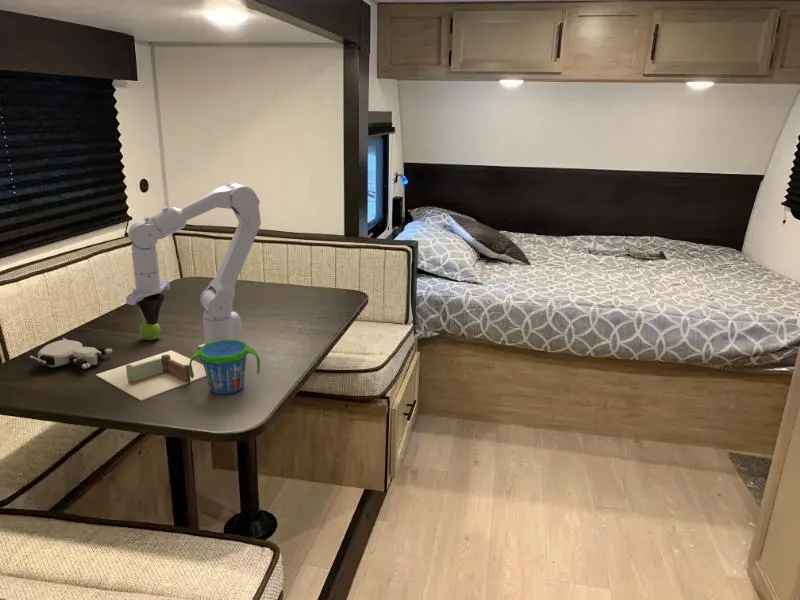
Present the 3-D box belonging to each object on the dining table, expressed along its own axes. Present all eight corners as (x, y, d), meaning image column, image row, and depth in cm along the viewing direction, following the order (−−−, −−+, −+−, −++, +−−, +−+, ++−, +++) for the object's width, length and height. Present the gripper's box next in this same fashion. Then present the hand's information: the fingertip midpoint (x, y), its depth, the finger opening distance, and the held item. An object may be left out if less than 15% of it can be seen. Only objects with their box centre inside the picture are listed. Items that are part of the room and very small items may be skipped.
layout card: (171, 351, 162) (171, 349, 161) (217, 372, 150) (217, 370, 150) (96, 375, 146) (95, 374, 146) (141, 401, 135) (140, 399, 135)
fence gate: (126, 381, 142) (124, 365, 141) (160, 371, 148) (159, 355, 147) (129, 383, 142) (127, 367, 140) (163, 372, 148) (161, 357, 146)
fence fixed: (168, 368, 150) (167, 353, 149) (193, 380, 144) (191, 365, 143) (161, 371, 149) (159, 356, 148) (185, 383, 143) (184, 367, 142)
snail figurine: (150, 333, 173) (146, 293, 169) (165, 338, 170) (161, 297, 166) (133, 339, 169) (128, 298, 165) (149, 344, 166) (144, 302, 162)
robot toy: (116, 359, 158) (61, 351, 160) (115, 343, 157) (60, 335, 158) (87, 379, 147) (28, 370, 148) (86, 362, 145) (27, 353, 147)
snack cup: (186, 399, 136) (182, 357, 133) (197, 379, 146) (193, 339, 143) (257, 398, 137) (255, 356, 134) (263, 378, 147) (262, 338, 144)
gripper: (150, 262, 158) (155, 312, 162) (112, 277, 144) (119, 331, 148) (175, 265, 156) (179, 315, 160) (138, 280, 143) (144, 334, 147)
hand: (152, 323), depth 154 cm, fingers closed
